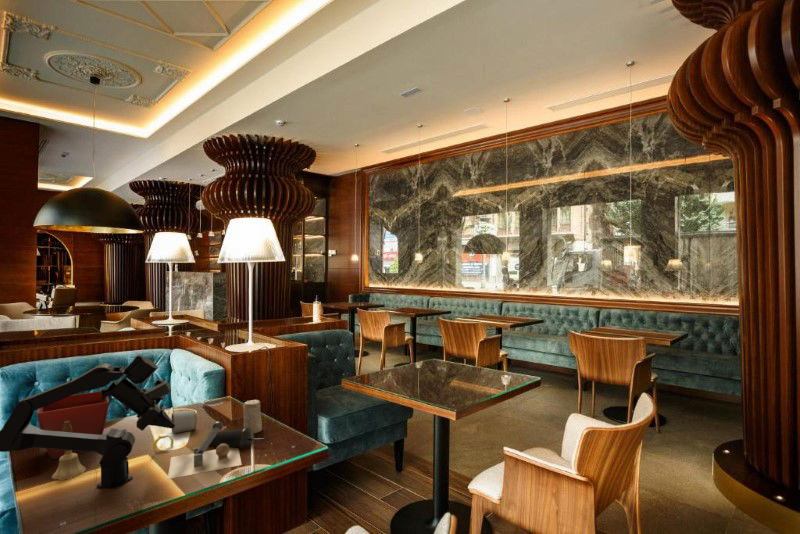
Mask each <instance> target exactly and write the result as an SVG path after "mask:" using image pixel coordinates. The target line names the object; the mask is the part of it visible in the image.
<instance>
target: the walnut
mask: <svg viewBox="0 0 800 534" xmlns="http://www.w3.org/2000/svg"><path fill="white" fill-rule="evenodd" d="M215 450H216V454H217V455H218V460H223V459H227V454H228V453H229V446H228V445H227V444H224V443H223V444H220V445H219V446H216V449H215Z"/></svg>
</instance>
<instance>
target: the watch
mask: <svg viewBox="0 0 800 534" xmlns="http://www.w3.org/2000/svg"><path fill="white" fill-rule="evenodd" d="M166 438H169V439H170V446H171V447H173V446H174V439H173V437H172V436H170V435H169V433H161V434H159V435H158V437H157V438H155V440H154V442H153V446H152V448H153V450H154V452H156V451H158V450H157V444H158V442H159V441H160V440H161V439H166Z"/></svg>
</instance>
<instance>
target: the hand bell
mask: <svg viewBox="0 0 800 534" xmlns="http://www.w3.org/2000/svg"><path fill="white" fill-rule="evenodd" d="M62 432H71V433H73V431H72V426H71V424H70V422H69V421H65V422H64V425H63V428H62ZM86 470H87V469H86V466H84V465H83V464H81V462H80V459H79V456H78V454H76V453H72V450H65V454H64V455H63V456H62V457H60V458H59V459H58V467H57V469H56V470H55V472H54V473H53V474H52V476H51V479H52V478H54V479H65V480H68V479H67V478H70V479H72V478H71V477H73V478H75V477H74V476H76V477H78V476H80V475H82V474H84V473H85V472H86ZM84 471H85V472H84ZM83 472H84V473H83ZM81 473H82V474H81ZM79 474H80V475H79ZM77 475H78V476H77Z"/></svg>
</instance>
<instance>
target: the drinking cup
mask: <svg viewBox="0 0 800 534" xmlns="http://www.w3.org/2000/svg"><path fill="white" fill-rule="evenodd" d="M257 441H258V442H259V441H261V442H262V441H263V442H264V441H265V438H254V433H253V432H252V430H251V429H250V428H245V429H244V428H240V429H239V428H238V429H231V430H220V431H219V432H218V433H217V434H216V436H215V437H214V439H213V440H212V442H211V443H210V445H209V446H213V447H218V446H219V445H220V444H223V443H224V444H227V445H228V446H229V447H230V448H238V449H239V450H244V449H247V448H248V447H250V446H251V445H252V444H253V442H257Z"/></svg>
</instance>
